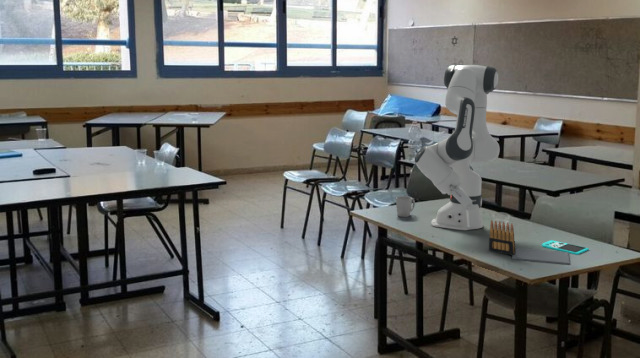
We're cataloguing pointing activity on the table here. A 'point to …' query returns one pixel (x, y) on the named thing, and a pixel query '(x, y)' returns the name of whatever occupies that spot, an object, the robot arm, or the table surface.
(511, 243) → the ammunition clip
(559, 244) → the handheld game console
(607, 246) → the table surface
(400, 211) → the cup
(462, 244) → the table surface
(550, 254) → the rubber mat
